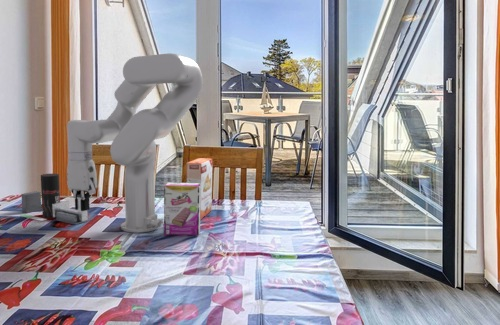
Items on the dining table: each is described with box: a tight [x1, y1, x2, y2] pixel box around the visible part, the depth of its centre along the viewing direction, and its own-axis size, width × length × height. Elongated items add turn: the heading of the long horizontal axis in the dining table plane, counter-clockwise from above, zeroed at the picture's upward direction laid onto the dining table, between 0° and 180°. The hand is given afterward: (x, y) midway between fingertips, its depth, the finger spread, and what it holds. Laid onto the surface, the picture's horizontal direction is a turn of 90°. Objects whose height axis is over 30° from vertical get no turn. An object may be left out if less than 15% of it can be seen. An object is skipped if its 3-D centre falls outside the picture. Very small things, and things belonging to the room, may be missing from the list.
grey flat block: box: [20, 190, 42, 214], centre depth 156 cm, size 2×6×7 cm, turn 152°
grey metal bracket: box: [55, 211, 92, 226], centre depth 146 cm, size 10×6×3 cm, turn 62°
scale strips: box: [31, 216, 48, 222], centre depth 151 cm, size 6×13×1 cm, turn 152°
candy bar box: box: [163, 182, 201, 237], centre depth 133 cm, size 11×5×16 cm, turn 92°
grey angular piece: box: [52, 194, 89, 221], centre depth 146 cm, size 13×6×9 cm, turn 62°
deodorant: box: [40, 173, 61, 219], centre depth 151 cm, size 6×6×15 cm
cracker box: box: [186, 157, 214, 221], centre depth 155 cm, size 14×6×21 cm, turn 168°
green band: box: [20, 213, 36, 220], centre depth 154 cm, size 6×13×1 cm, turn 152°
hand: (82, 209), depth 143 cm, fingers closed on grey angular piece, 2 cm apart
